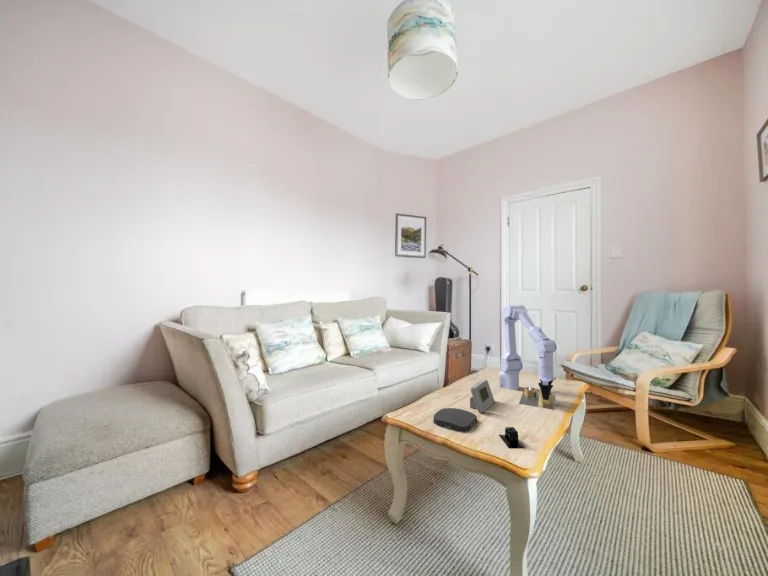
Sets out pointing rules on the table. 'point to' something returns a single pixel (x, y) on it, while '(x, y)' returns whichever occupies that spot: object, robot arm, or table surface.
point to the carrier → (533, 398)
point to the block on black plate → (511, 438)
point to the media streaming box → (455, 419)
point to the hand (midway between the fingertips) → (546, 396)
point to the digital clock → (481, 396)
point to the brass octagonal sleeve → (546, 402)
